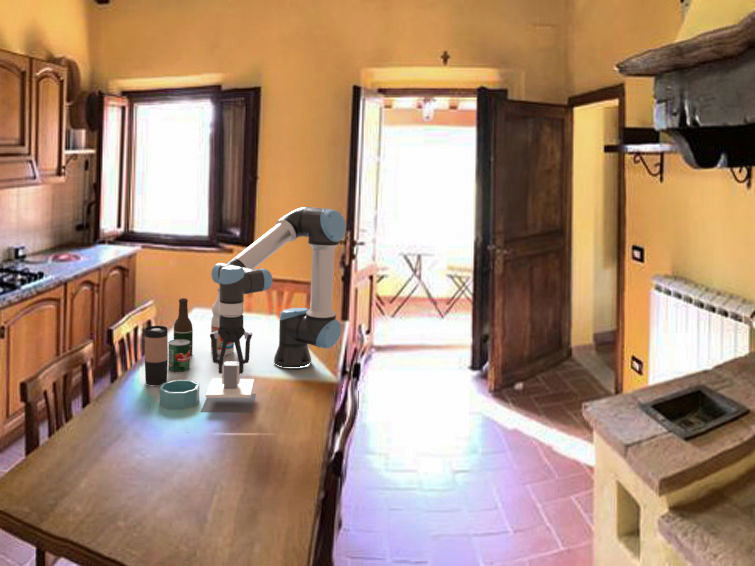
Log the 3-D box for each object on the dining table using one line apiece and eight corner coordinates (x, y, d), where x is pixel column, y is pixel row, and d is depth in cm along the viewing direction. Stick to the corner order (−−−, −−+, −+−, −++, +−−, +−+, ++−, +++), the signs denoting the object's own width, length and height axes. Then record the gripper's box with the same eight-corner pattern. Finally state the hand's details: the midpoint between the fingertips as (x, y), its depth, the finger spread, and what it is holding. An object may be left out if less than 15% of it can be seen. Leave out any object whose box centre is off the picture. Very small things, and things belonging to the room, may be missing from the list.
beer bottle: (189, 359, 229) (189, 301, 224) (170, 357, 229) (170, 300, 224) (195, 353, 236) (196, 297, 232) (177, 352, 236) (177, 296, 232)
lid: (254, 381, 194) (254, 356, 193) (250, 397, 181) (250, 371, 179) (212, 381, 192) (212, 356, 191) (205, 397, 179) (205, 370, 177)
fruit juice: (219, 347, 246) (220, 284, 241) (238, 351, 243) (239, 287, 238) (206, 353, 238) (207, 288, 233) (224, 356, 234) (226, 291, 229)
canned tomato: (183, 374, 212) (183, 346, 210) (164, 371, 213) (164, 343, 211) (193, 367, 219) (194, 340, 217) (175, 365, 221) (175, 338, 219)
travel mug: (148, 378, 205) (148, 325, 202) (170, 378, 206) (170, 326, 202) (141, 385, 198) (141, 330, 194) (164, 386, 198) (164, 331, 195)
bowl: (201, 397, 191) (201, 380, 190) (194, 410, 180) (194, 393, 179) (165, 396, 190) (165, 379, 189) (156, 410, 178) (156, 392, 177)
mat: (256, 395, 196) (256, 393, 196) (251, 414, 180) (251, 412, 180) (208, 394, 194) (208, 393, 194) (200, 413, 178) (200, 412, 178)
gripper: (259, 312, 186) (258, 378, 191) (206, 310, 184) (206, 378, 189) (257, 317, 179) (256, 387, 184) (202, 316, 177) (202, 386, 181)
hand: (231, 382), depth 186 cm, fingers closed on lid, 4 cm apart
